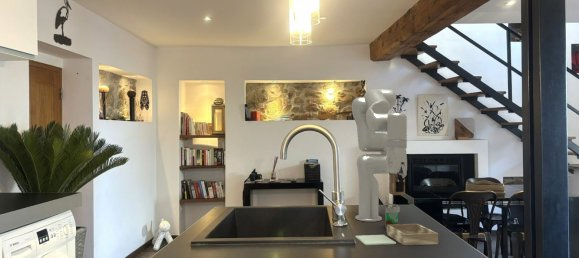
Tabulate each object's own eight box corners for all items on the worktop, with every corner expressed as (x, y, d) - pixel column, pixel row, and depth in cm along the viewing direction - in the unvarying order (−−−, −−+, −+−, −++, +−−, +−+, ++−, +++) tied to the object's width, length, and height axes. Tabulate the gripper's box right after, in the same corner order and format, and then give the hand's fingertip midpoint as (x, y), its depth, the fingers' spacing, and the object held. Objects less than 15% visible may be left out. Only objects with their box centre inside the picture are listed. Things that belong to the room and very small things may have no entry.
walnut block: (389, 193, 161) (389, 173, 161) (399, 193, 162) (399, 173, 162) (394, 195, 156) (394, 174, 156) (404, 194, 157) (404, 174, 157)
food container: (401, 232, 171) (401, 208, 171) (386, 231, 172) (386, 207, 172) (399, 225, 183) (399, 203, 183) (385, 225, 184) (385, 203, 184)
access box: (386, 234, 167) (386, 224, 167) (417, 233, 169) (417, 223, 169) (404, 245, 150) (404, 234, 150) (438, 244, 152) (438, 233, 153)
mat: (355, 237, 162) (355, 235, 162) (383, 236, 164) (383, 234, 164) (365, 245, 151) (365, 243, 151) (395, 243, 152) (395, 242, 152)
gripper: (379, 144, 167) (379, 188, 167) (397, 145, 150) (397, 194, 150) (396, 144, 168) (396, 187, 168) (416, 145, 152) (416, 193, 151)
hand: (396, 190), depth 159 cm, fingers closed on walnut block, 4 cm apart
